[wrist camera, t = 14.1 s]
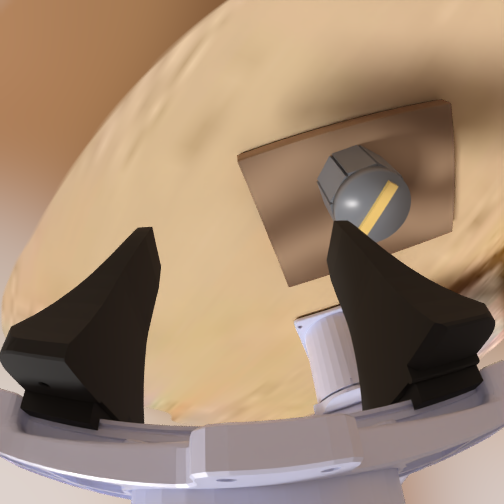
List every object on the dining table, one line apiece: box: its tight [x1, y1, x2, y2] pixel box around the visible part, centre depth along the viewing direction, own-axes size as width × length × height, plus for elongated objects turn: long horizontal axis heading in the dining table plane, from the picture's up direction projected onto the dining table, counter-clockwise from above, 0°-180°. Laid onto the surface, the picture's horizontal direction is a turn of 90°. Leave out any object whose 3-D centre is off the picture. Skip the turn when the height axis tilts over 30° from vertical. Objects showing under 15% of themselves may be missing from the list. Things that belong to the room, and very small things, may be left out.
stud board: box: [237, 99, 455, 287], centre depth 21 cm, size 12×16×4 cm
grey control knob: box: [317, 145, 411, 242], centre depth 19 cm, size 5×5×4 cm
